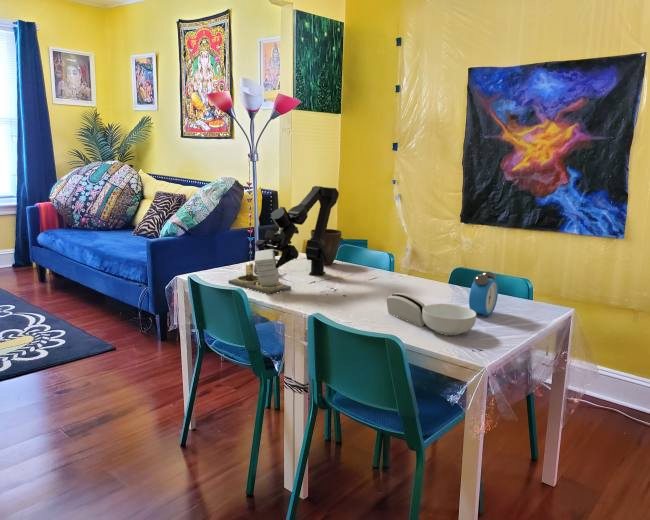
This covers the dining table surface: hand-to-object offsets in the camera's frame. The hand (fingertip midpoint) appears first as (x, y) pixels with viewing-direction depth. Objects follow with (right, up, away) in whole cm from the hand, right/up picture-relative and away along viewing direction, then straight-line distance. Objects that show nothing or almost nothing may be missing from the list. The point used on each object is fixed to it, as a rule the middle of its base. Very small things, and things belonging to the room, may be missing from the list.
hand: (266, 265), depth 218 cm
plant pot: (+23, 0, +51) cm, 56 cm away
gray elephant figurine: (-3, -4, +29) cm, 29 cm away
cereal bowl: (+62, -21, -40) cm, 77 cm away
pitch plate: (-4, -8, +7) cm, 12 cm away
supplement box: (+1, -6, +3) cm, 7 cm away
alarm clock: (+79, -17, -21) cm, 83 cm away
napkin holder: (+51, -18, -29) cm, 61 cm away
